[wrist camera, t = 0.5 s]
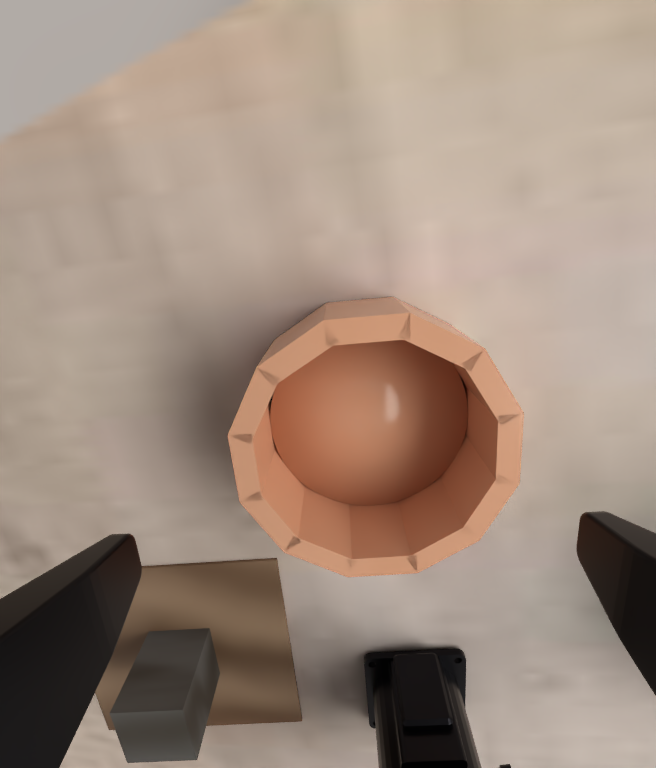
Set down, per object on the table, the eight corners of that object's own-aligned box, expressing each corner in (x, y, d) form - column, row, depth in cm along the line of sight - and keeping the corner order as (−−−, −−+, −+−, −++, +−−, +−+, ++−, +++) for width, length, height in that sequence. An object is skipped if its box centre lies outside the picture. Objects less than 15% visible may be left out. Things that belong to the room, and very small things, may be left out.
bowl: (479, 503, 24) (514, 567, 19) (270, 516, 24) (254, 582, 20) (484, 288, 20) (530, 302, 15) (237, 310, 21) (208, 329, 16)
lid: (302, 709, 30) (295, 812, 25) (114, 718, 31) (66, 820, 25) (278, 551, 26) (262, 633, 20) (59, 564, 27) (-13, 648, 21)
